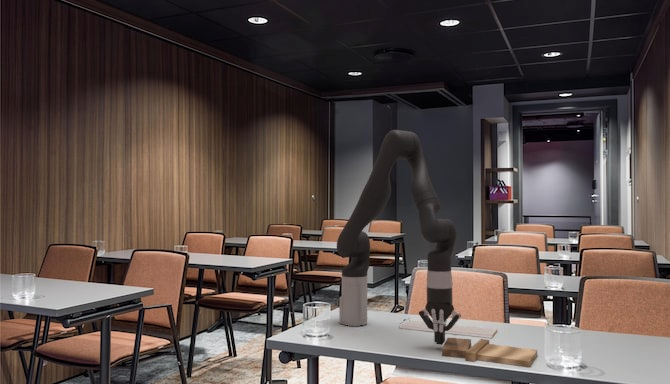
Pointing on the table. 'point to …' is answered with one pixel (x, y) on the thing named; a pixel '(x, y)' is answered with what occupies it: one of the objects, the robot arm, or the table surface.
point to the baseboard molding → (452, 329)
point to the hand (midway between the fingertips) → (439, 343)
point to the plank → (456, 347)
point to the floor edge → (500, 354)
